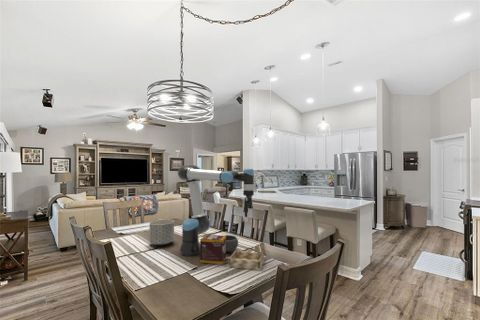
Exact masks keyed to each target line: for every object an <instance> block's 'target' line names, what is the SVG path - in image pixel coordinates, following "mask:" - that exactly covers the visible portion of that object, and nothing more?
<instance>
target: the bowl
mask: <svg viewBox="0 0 480 320" xmlns="http://www.w3.org/2000/svg"><path fill="white" fill-rule="evenodd" d="M224 236H226V253H227V252H228V253H230V252H235V251H236V249H237V248H238V246H239V240H238V237H237V236H235V235H229V234H225V235H224Z"/></svg>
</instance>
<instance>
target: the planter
mask: <svg viewBox="0 0 480 320" xmlns="http://www.w3.org/2000/svg"><path fill="white" fill-rule="evenodd" d="M148 239H149V243H150V244H152V245H155V246H157V247H162V246H163V247H164V246H167V245H169V244H170V243H172V242H173V241H174V240H175V220H173V219H168V218H167V219H165V218H164V219H155V220H152V221H149V238H148Z"/></svg>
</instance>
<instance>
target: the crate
mask: <svg viewBox="0 0 480 320" xmlns="http://www.w3.org/2000/svg"><path fill="white" fill-rule="evenodd" d="M264 262H265V253H264V252H254V251H243V250H241V251H240V250H234V251H233V253H232V254H231V255H230V256H229V257H228V268H236V269H237V268H238V269H244V268H245V269H244V270H253V269H254V271H261V269H262V266H263V264H264Z"/></svg>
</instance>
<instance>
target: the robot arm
mask: <svg viewBox="0 0 480 320" xmlns="http://www.w3.org/2000/svg"><path fill="white" fill-rule="evenodd" d="M177 176H178V178H179V179H180V180H182V181H185V183H186V185H187V186H188V190H189V196H190V203H191V210H192V216H191V218H188V219H185V220H184V221H183V222H182V227H181V228H182V235H181V236H182V238H181V239H182V241H181V242H182V243H181V245H180V249H179V254H180V255H181V256H185V257H186V256H188V257H189V256H190V257H192V256H196V255H200V241H199V238H200V237H199V235H201V234H205V233H206V232H207V231H209V229H210V227H211V219H210V218H208V217H207V214H206V213H205V211H204V204H203V198H202V191H201V186H200V183H201V181H210V182H211V181H212V182H213V181H214V182H223V183H226V184H227V183H233V182H242V183H243V186H242V187H243V188H242V189H243V190H242V194H243V196H245V197H244V205H243V211H242V212H243V215H244V217H243V218H244V219H243V220H244V222H246V223H247V222H249V218H253V209H254V206H253V196H254V195H255V194H254V192H255V191H254V187H255V185H254V183H255V170H254V169H253V168H244V169H243V170H241V171H239V170H229V171H227V170H213V169H212V170H211V169H201V167H199V166H198V165H193V164H192V165H187V164H186V165H182V166H180V167H179V169H178V170H177Z"/></svg>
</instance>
